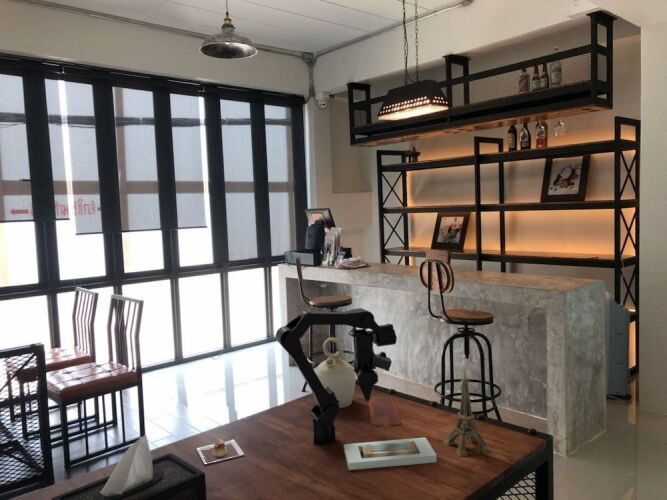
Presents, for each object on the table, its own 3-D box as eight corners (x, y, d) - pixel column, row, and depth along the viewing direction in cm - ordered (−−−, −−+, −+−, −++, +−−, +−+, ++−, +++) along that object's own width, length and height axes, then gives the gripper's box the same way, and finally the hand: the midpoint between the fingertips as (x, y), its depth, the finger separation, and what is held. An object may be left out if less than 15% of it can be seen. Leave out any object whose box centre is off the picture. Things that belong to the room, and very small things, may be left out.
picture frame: (364, 464, 154) (364, 453, 153) (362, 454, 160) (362, 444, 159) (416, 460, 155) (416, 449, 154) (412, 451, 161) (412, 440, 160)
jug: (342, 413, 191) (339, 344, 189) (307, 406, 200) (303, 340, 198) (364, 399, 204) (361, 334, 202) (329, 393, 212) (326, 330, 210)
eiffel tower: (442, 442, 165) (440, 362, 163) (473, 436, 168) (471, 358, 166) (459, 457, 155) (456, 372, 153) (492, 451, 157) (490, 367, 155)
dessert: (204, 467, 156) (203, 451, 156) (196, 451, 167) (195, 436, 167) (244, 457, 162) (243, 442, 161) (234, 442, 172) (233, 428, 172)
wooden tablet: (402, 427, 178) (402, 422, 178) (372, 428, 179) (371, 423, 178) (393, 398, 205) (393, 394, 205) (367, 399, 205) (367, 395, 205)
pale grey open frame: (348, 470, 150) (348, 463, 150) (344, 450, 162) (343, 444, 162) (436, 462, 152) (436, 455, 152) (425, 443, 164) (425, 437, 164)
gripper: (393, 354, 164) (395, 404, 165) (385, 339, 182) (386, 384, 184) (357, 356, 163) (359, 407, 165) (352, 341, 182) (354, 386, 183)
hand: (366, 395), depth 174 cm, fingers open, 9 cm apart
